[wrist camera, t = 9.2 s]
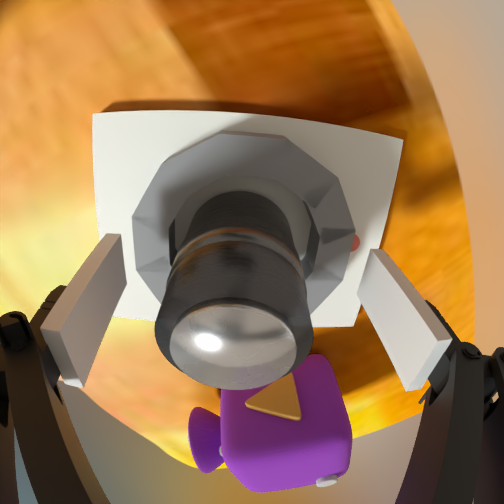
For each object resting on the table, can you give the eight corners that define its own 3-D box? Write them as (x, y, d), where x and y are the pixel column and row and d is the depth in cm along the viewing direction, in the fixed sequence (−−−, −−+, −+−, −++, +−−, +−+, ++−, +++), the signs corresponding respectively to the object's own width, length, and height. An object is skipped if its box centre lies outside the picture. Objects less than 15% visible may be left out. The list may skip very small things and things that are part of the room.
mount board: (99, 112, 15) (76, 116, 12) (395, 137, 17) (421, 145, 14) (116, 308, 21) (104, 334, 19) (349, 318, 23) (361, 344, 21)
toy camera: (170, 377, 25) (157, 477, 17) (317, 329, 24) (352, 437, 15) (224, 430, 30) (226, 509, 21) (344, 394, 28) (369, 477, 20)
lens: (187, 184, 16) (137, 279, 9) (301, 195, 17) (339, 296, 9) (187, 277, 19) (158, 390, 12) (284, 285, 20) (298, 401, 12)
